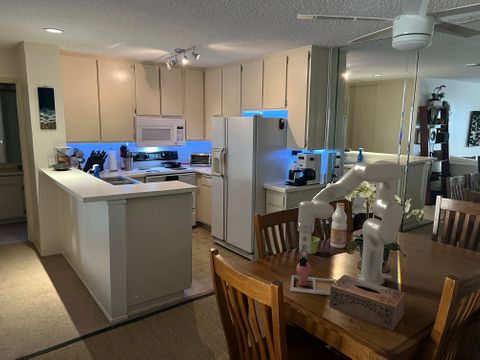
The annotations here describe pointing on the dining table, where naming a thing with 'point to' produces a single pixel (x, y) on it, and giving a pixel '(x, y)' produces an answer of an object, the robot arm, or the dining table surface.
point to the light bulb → (303, 273)
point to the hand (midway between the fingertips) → (303, 262)
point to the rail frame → (314, 285)
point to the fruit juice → (339, 227)
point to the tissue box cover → (367, 301)
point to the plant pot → (314, 245)
